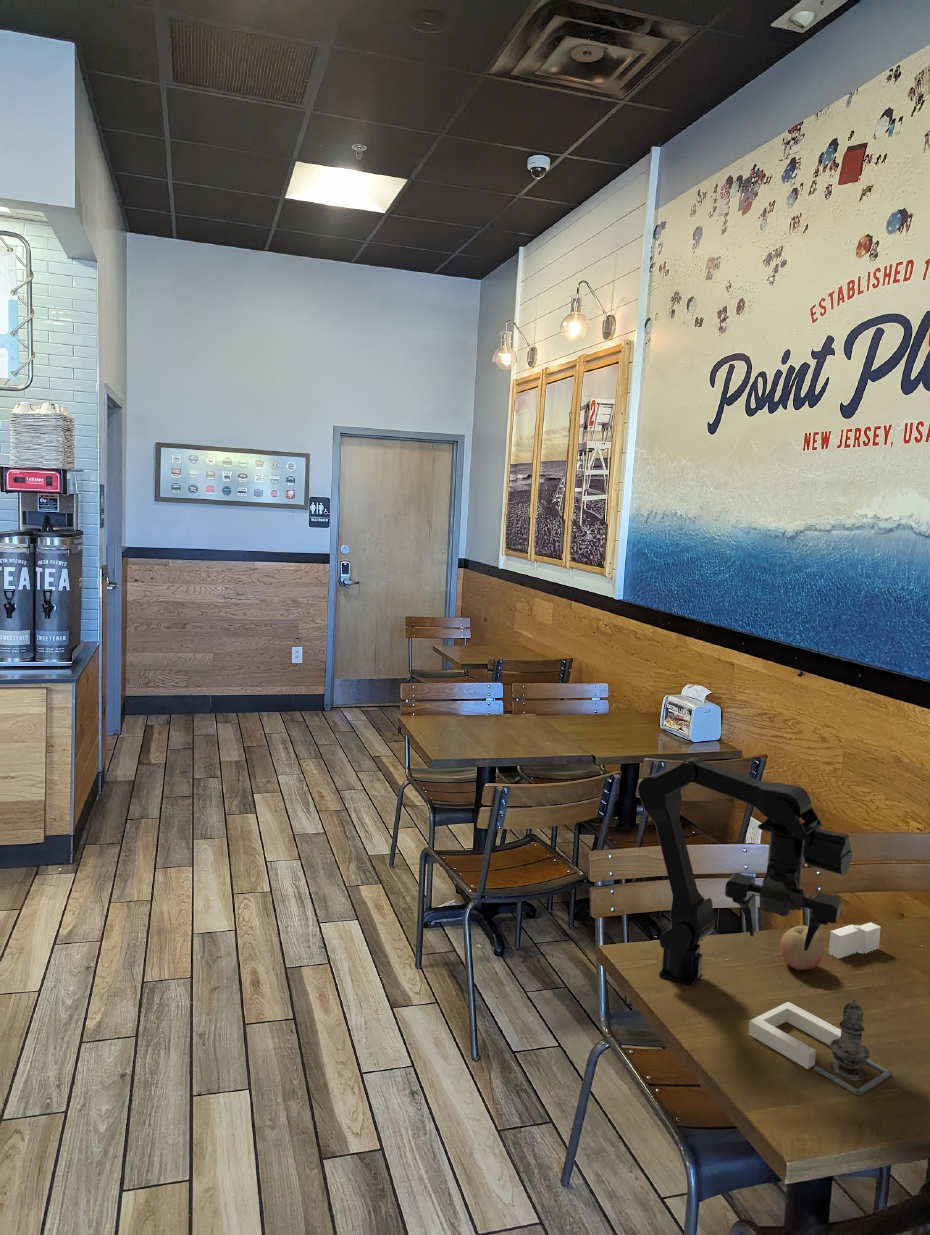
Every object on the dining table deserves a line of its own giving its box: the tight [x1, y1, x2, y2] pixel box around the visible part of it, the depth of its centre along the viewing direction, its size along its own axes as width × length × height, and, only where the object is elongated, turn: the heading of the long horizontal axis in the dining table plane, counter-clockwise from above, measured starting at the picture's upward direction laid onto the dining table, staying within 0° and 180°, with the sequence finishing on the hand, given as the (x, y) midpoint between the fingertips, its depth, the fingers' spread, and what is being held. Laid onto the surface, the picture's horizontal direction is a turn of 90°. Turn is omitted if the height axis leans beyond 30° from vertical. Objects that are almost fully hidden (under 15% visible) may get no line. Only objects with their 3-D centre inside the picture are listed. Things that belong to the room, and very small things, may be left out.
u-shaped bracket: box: [748, 1001, 841, 1070], centre depth 147 cm, size 11×11×2 cm
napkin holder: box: [828, 921, 882, 960], centre depth 179 cm, size 15×11×6 cm
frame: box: [813, 1058, 893, 1097], centre depth 139 cm, size 8×10×1 cm
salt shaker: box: [829, 999, 871, 1081], centre depth 139 cm, size 6×6×12 cm
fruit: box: [779, 924, 825, 971], centre depth 172 cm, size 8×8×8 cm
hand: (778, 942), depth 154 cm, fingers open, 9 cm apart
